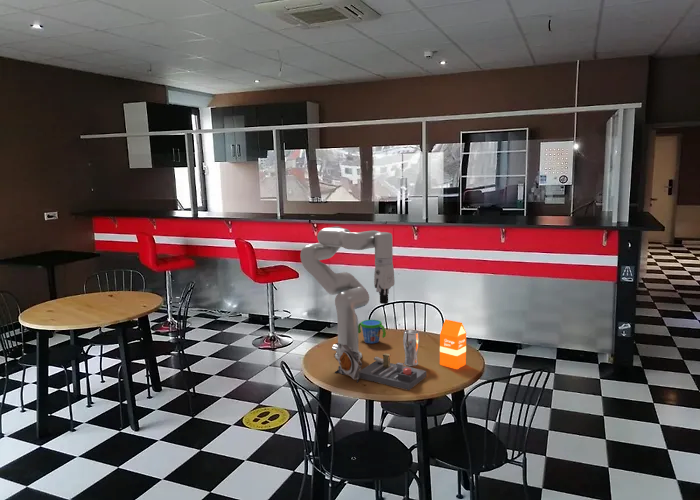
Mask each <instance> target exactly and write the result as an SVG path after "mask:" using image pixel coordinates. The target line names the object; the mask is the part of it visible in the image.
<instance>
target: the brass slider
mask: <svg viewBox="0 0 700 500" xmlns="http://www.w3.org/2000/svg"><path fill="white" fill-rule="evenodd" d="M382 357H383V358H382V359H383V367H386V368H389V367H390V363H391V354H390V353H386V352H385V353H383V354H382Z"/></svg>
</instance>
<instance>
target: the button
mask: <svg viewBox="0 0 700 500" xmlns="http://www.w3.org/2000/svg"><path fill="white" fill-rule="evenodd" d="M411 368H412V367H411ZM411 368H404V369H403V374H405V375H409V376H410V375H411Z"/></svg>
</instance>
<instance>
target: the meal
mask: <svg viewBox="0 0 700 500" xmlns="http://www.w3.org/2000/svg"><path fill="white" fill-rule="evenodd" d="M335 345H337V346H338V348H339V349H340V350H341V351H340V354H339V357H338V359H336V360H337V362H338V365H339V366H337V370H335V371H334V372H335V373H334V374H341V375H346V376H349V377H351V379H353V380H356V383H359V381H360V379H361V376H360V378H359V374H360V372H361V370H362V366H363V363H362V361H361V358H360V359H359V353H358V352H354V350H353V349H352V348H351V347H349V346H347V345H345V344H339V343H338V342H336V343H335ZM359 371H360V372H359Z"/></svg>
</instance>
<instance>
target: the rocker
mask: <svg viewBox="0 0 700 500" xmlns="http://www.w3.org/2000/svg"><path fill="white" fill-rule="evenodd" d="M373 361H378V362H381V363H383V358H381V357H379V356H377V355H376V356H375V357H374V358H373Z"/></svg>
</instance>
